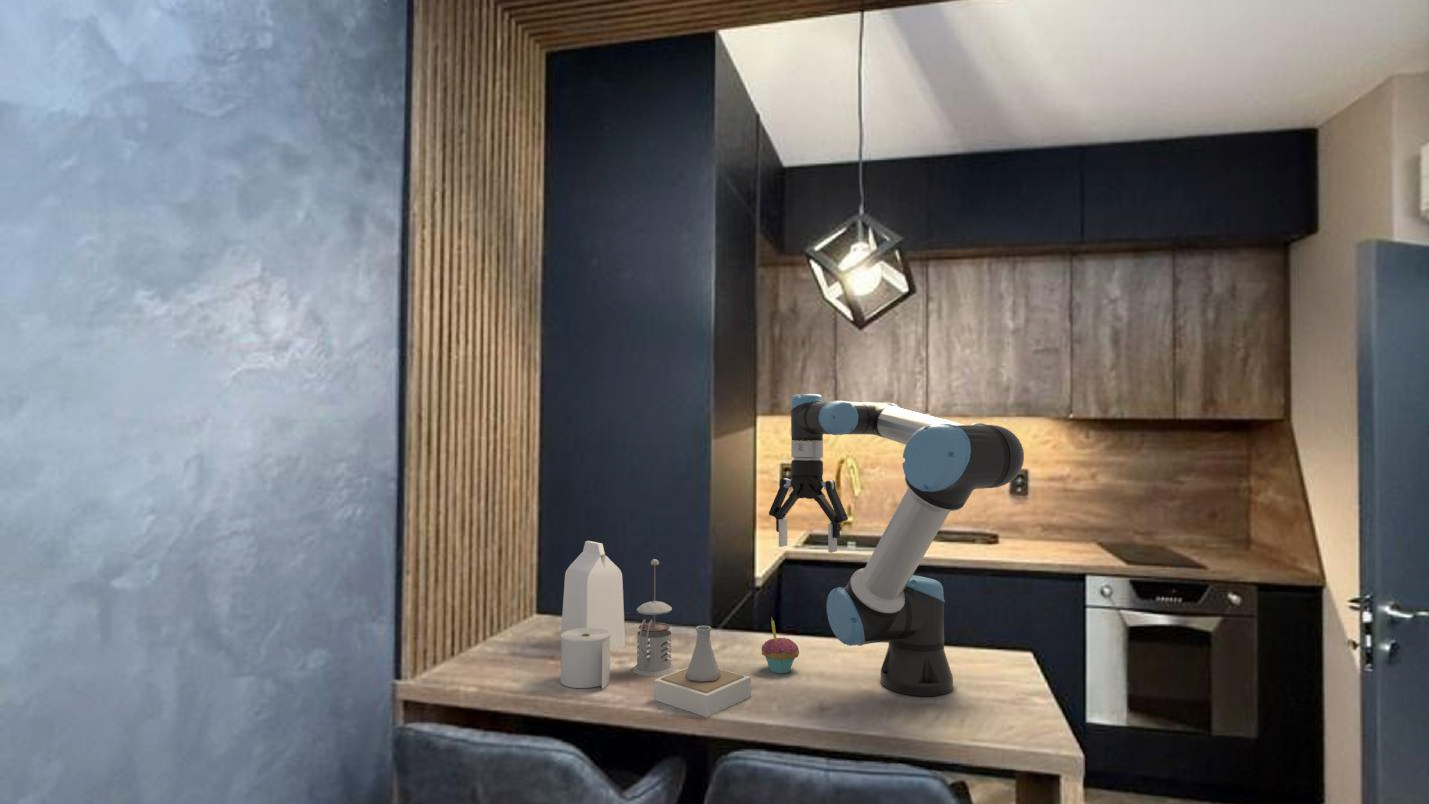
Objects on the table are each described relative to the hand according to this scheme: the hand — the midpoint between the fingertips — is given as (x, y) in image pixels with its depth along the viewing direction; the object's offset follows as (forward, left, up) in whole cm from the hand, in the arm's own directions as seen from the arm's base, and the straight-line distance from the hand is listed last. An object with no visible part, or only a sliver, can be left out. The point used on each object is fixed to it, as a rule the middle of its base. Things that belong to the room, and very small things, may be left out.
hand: (807, 549), depth 174 cm
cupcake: (+2, +8, -27) cm, 28 cm away
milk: (+49, +23, -27) cm, 61 cm away
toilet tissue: (+30, +41, -27) cm, 58 cm away
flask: (+4, +33, -23) cm, 40 cm away
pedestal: (+4, +33, -27) cm, 43 cm away
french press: (+24, +27, -27) cm, 45 cm away
